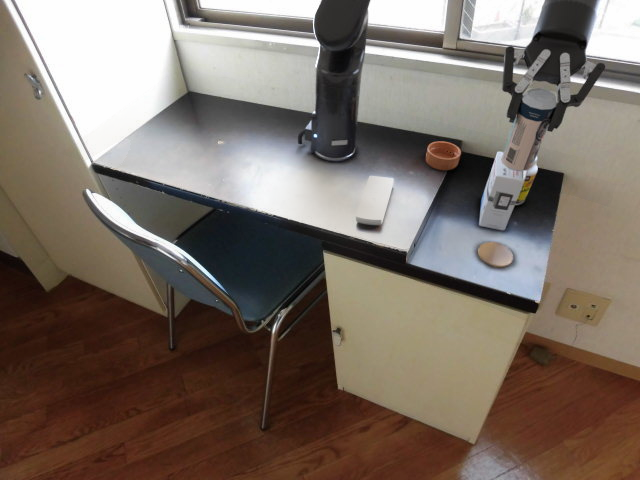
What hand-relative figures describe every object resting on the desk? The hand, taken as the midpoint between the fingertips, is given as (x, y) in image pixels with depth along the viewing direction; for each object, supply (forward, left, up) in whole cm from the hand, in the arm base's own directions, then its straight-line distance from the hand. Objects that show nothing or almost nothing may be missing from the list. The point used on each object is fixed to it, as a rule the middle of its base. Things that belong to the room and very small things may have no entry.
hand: (531, 125), depth 69 cm
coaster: (+2, -2, -25) cm, 25 cm away
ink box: (0, +10, -25) cm, 27 cm away
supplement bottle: (+3, +17, -25) cm, 30 cm away
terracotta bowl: (-12, +25, -25) cm, 37 cm away
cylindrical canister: (0, +2, -8) cm, 9 cm away
